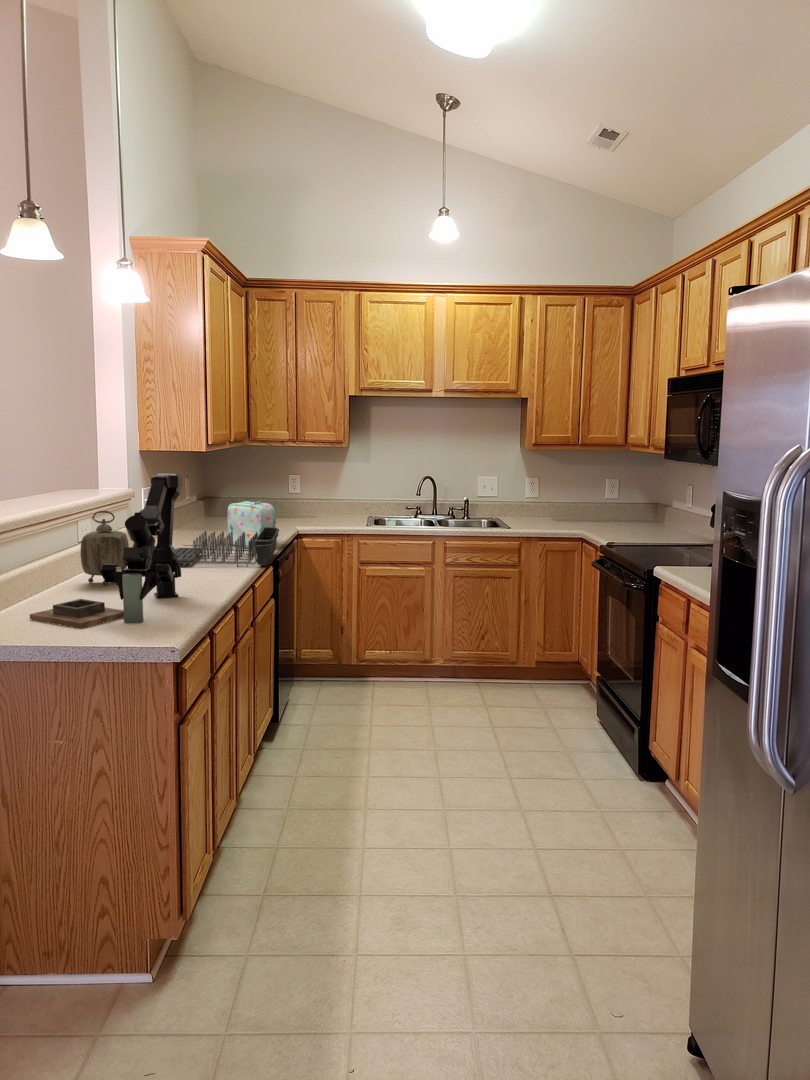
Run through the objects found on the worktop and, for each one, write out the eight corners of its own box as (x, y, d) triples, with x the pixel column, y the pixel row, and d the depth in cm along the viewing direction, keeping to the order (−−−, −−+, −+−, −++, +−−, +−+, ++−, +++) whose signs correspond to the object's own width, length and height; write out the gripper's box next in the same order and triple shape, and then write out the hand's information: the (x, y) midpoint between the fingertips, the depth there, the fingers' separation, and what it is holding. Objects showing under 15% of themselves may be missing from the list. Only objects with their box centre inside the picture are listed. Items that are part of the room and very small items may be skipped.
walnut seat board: (77, 608, 226) (77, 594, 225) (127, 616, 217) (127, 602, 217) (29, 619, 212) (29, 605, 211) (81, 628, 203) (80, 613, 202)
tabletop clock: (130, 581, 267) (127, 509, 264) (126, 586, 258) (124, 512, 255) (85, 582, 264) (82, 509, 260) (80, 587, 255) (77, 512, 252)
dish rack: (273, 569, 295) (273, 538, 294) (155, 569, 292) (154, 537, 290) (280, 555, 329) (280, 527, 327) (175, 555, 325) (174, 526, 324)
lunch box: (281, 549, 344) (281, 501, 341) (263, 551, 336) (263, 502, 333) (242, 543, 360) (242, 497, 357) (225, 545, 352) (224, 498, 349)
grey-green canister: (122, 620, 212) (121, 573, 211) (141, 618, 215) (140, 572, 213) (125, 624, 208) (123, 577, 206) (144, 622, 210) (143, 575, 209)
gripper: (100, 535, 212) (87, 582, 202) (169, 535, 212) (159, 582, 203) (111, 558, 221) (99, 604, 211) (177, 559, 221) (168, 605, 212)
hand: (131, 598), depth 209 cm, fingers closed on grey-green canister, 5 cm apart
